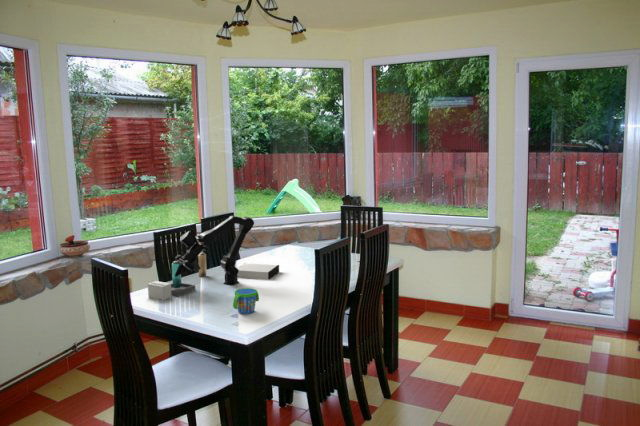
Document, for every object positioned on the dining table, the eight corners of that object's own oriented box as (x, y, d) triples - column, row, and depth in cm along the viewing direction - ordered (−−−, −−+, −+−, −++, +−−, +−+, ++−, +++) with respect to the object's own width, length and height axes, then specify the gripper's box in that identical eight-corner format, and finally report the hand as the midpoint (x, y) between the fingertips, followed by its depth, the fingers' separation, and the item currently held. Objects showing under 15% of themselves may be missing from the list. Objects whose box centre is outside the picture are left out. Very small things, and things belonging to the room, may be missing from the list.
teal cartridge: (181, 285, 275) (180, 260, 273) (181, 287, 271) (180, 262, 269) (173, 286, 274) (171, 261, 272) (172, 288, 270) (171, 262, 268)
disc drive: (269, 280, 296) (269, 271, 296) (233, 277, 302) (233, 269, 301) (279, 272, 313) (279, 264, 313) (245, 270, 319) (244, 262, 318)
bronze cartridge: (207, 275, 305) (207, 252, 303) (203, 277, 301) (202, 254, 299) (202, 274, 307) (201, 251, 305) (197, 276, 303) (196, 253, 301)
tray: (195, 289, 276) (194, 285, 275) (177, 296, 264) (177, 291, 264) (176, 286, 282) (176, 281, 281) (159, 292, 270) (159, 287, 270)
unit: (171, 296, 264) (171, 283, 263) (163, 299, 258) (162, 286, 257) (157, 293, 268) (156, 280, 267) (148, 297, 263) (147, 283, 262)
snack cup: (251, 305, 250) (250, 285, 248) (266, 310, 243) (266, 289, 241) (226, 313, 238) (225, 292, 236) (241, 318, 231) (240, 297, 230)
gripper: (210, 265, 271) (190, 288, 267) (199, 257, 287) (180, 279, 283) (195, 252, 266) (174, 275, 262) (184, 245, 281) (165, 267, 277)
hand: (174, 275), depth 271 cm, fingers closed on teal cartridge, 4 cm apart
